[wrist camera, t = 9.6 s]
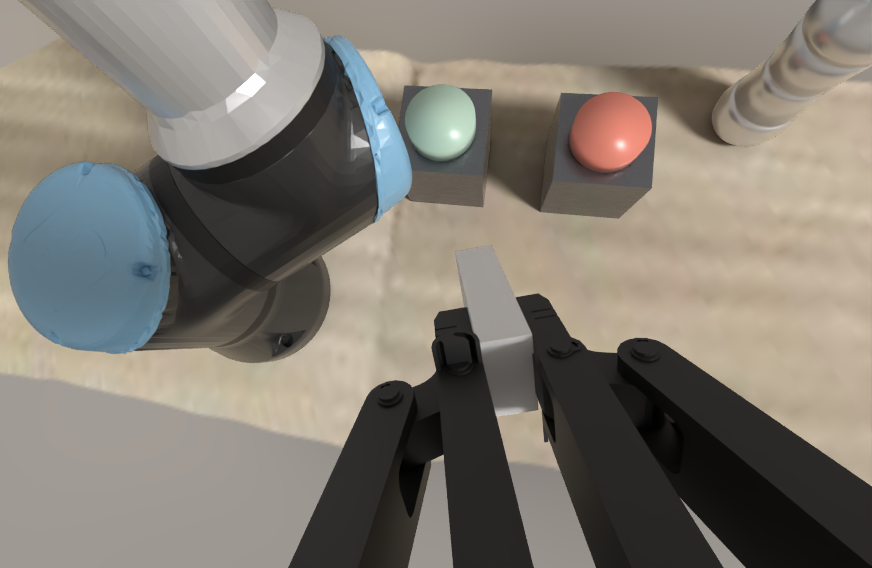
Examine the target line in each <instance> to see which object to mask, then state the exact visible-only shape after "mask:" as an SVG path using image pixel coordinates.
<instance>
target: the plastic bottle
mask: <svg viewBox="0 0 872 568" xmlns="http://www.w3.org/2000/svg"><path fill="white" fill-rule="evenodd" d="M871 66H872V0H816V1H815V2H814V3H813V4H812V5H811V7H810V8H809V9H808V11H807V12H806V13H805V14H804V16H803V17H802V19H801V20H800V21H799V22H798V24H797V25H796V26H795V28H794V29H793V30H792V32H791V33H790V34H789V36H788V37H787V38H786V39H785V40H784V41H783V42H782V44H781V45H780V46H779V47H778V48H777V49H776V50H775V51H774V52H773V53H772V55H771V56H770V57H769V58H768V59H766V60H765V61H764V62H763V63H761V64H760V65H759V66H758V67H757V68H755V69H754V70H753V71H752V72H751V73H749V74H748V75H746V76H745V77H743V78H741V79H740V80H739V81H737V82H736V83H735V84H733V85H732V86H731V87H729V88H728V89H727V90H726V91H725V92H724V93H723V94H722V95H721V97H720V98H719V100H718V102H717V103H716V105H715V107H714V109H713V112H712V125H713V128H714V130H715V132H716V134H717V135H718V136H719V137H720V138H721V139H722V140H724V141H725V142H727V143H729V144H732V145H736V146H744V147H748V146H755V145H758V144H761V143H763V142H766V141H768V140H770V139H772V138H774V137H776V136H777V135H779V134H780V133H782V132H783V131H784V130H785V129H786V128H787V127H788V126H789V125H790V124H791V123H792V122H793V121H794V119H795V118H796V117H797V116H798V115H799V114H800V113H801V112H802V111H804V110H805V109H806V108H807V107H808V106H809V105H811V104H812V103H813V102H814V101H815V100H816V99H818V98H819V97H820V96H822V95H824V94H825V93H826V92H828V91H830V90H831V89H833V88H834V87H836V86H837V85H839V84H841V83H842V82H844V81H845V80H847V79H849V78H851V77H852V76H854V75H856V74H858V73H860V72H862V71H864V70H866V69H867V68H869V67H871Z"/></svg>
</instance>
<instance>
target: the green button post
mask: <svg viewBox="0 0 872 568" xmlns="http://www.w3.org/2000/svg"><path fill="white" fill-rule="evenodd" d="M425 88H427V87H423V86H404V93H403V101H402V108H401V115H400V122H399V131H400V133H401V136H402V139H403V141H404V144H405V147H406V150H407V153H408V156H409V159H410V164H411V169H412V184H411V188H410V190H409V192H408V194H407V195H408V197H409V199H410V201H416V202H428V203H440V204H452V205H464V206H476V207H483V205H484V196H485V188H486V179H487V170H488V162H489V153H490V144H491V127H492V90H488V89H466V88H459V89H461V90H462V91H464V92H465V93H466V94H467V95H468V96H469V98H470V99H471V101H472V103H473V105H474V108H475V116H476V133H475V137H474V140H473V142H472V144H471V145H470V147H469V148H468V149H467V150H466V151H465V152H464V155H460V156H458V157H457V158H454V159H452V160H448V161H433V160H430V159H427V158H425V157H423V156H422V155H421V154H419V153H418V152H417V151H416V150H415V148H414V147H413V145H412V143H411V140H410V138H409V135H408V133H407V130H406V126H405V114H406V110H407V107H408V105H409V103H410V102H411V100H412V99H413V98H414V97H415V95H417V94H418V93H419V92H420V91H422V90H423V89H425Z"/></svg>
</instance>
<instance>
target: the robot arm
mask: <svg viewBox="0 0 872 568" xmlns="http://www.w3.org/2000/svg"><path fill="white" fill-rule="evenodd" d="M18 1H19V2H21V3H22V4H23V5H24V6H25V7H27V8H28V9H29V10H30V11H31V12H32V13H34V14H35V15H36V16H37V17H39V18H40V19H41V20H42V21H43V22H44V23H46V24H47V25H48V26H49V27H50V28H51V29H53V30H54V31H55V32H56V33H57V34H58V35H60V36H61V37H62V38H63V39H64V40H65V41H67V42H68V43H69V44H70V45H71V46H72V47H74V48H75V49H76V50H77V51H78V52H80V53H81V54H82V55H83V56H84V57H85V58H87V59H88V60H89V61H90V62H91V63H92V64H94V65H95V66H96V67H97V68H98V69H100V70H101V71H102V72H103V73H104V74H105V75H107V76H108V77H109V78H110V79H111V80H113V81H114V82H115V83H116V84H117V85H118V86H120V87H121V88H122V89H123V90H124V91H125V92H127V93H128V94H129V95H130V96H131V97H133V98H134V99H135V100H136V101H137V102H138V103H140V104H141V105H142V106H143V107H144V108H146V111H147V124H148V134H149V140H150V143H151V145H152V147H153V149H154V150H155V151H156V153H157V154H158V156H156V157H155V158H153V159H152V160H150V161H149V162H147V163H146V164H144V165H143V166H141V167H140V168H138V169H137V170H135V171H133V172H130V171H129V170H127V169H125V168H123V167H121V166H118V165H116V164H111V163H104V164H102V163H100V164H95V163H91V162H79V163H73V164H70V165H67V166H64V167H62V168H60V169H57V170H56V171H54V172H52V173H51V174H50V175H48V176H47V177H45V178H44V179H43V180H42V181H41V182H40V183H39V184H38V185H37V186H36V187H35V188H34V189H33V190H32V191H31V193H30V194H29V195H28V197H27V198H26V200H25V202H24V203H23V205H22V207H21V209H20V211H19V213H18V215H17V218H16V221H15V223H14V226H13V229H12V239H11V244H10V247H9V251H8V271H9V278H10V284H11V288H12V291H13V294H14V297H15V300H16V302H17V304H18V306H19V308H20V310H21V312H22V313H23V315H24V317H25V318H26V319H27V321H28V322H29V323H30V324H31V325H32V326H33V328H34V329H35V330H37V331H38V332H39V333H40V334H41V335H43V336H44V337H45V338H47V339H48V340H50V341H52V342H54V343H56V344H60V345H62V346H64V347H68V348H71V349H76V350H84V351H98V352H106V353H110V354H121V353H122V354H125V353H126V352H132V351H145V350H168V349H191V348H209V349H211V350H213V351H215V352H217V353H219V354H221V355H223V356H225V357H227V358H229V359H232V360H236V361H240V362H246V363H261V362H270V361H276V360H279V359H283V358H285V357H288V356H290V355H292V354H294V353H295V352H297V351H299V350H300V349H301V348H303V347H304V346H305V345H306V344H307V343H308V342H309V341H310V340H311V339H312V338H313V337H314V336H315V334H316V333H317V331H318V330H319V328H320V327H321V325H322V323H323V321H324V319H325V316H326V313H327V310H328V307H329V301H330V279H329V274H328V270H327V268H326V265H325V263H324V260H323V259H322V257H321V256H322V255H323V254H325V253H327V252H328V251H330V250H331V249H333V248H334V247H336V246H338V245H339V244H341V243H342V242H344V241H345V240H347V239H348V238H350V237H352V236H353V235H355V234H356V233H358V232H359V231H361V230H363V229H364V228H366V227H367V226H369V225H370V224H373V223H375V222H377V221H378V220H379V219H380V218H381V216H382V215H383V214H384V213H385V212H387V211H388V210H389V209H390V208H392V207H393V206H394V205H396V204H397V203H398V202H400V201H401V200H402V199H403V198H404V197H405V196H406V195H407V194H408V192H409V190H410V188H411V184H412V169H411V164H410V159H409V156H408V153H407V150H406V147H405V144H404V141H403V139H402V136H401V133H400V131H399V128H398V126H397V124H396V121H395V119H394V117H393V115H392V113H391V111H390V110H389V108H388V107H387V106H386V105H385V101H384V98H383V96H382V93H381V91H380V89H379V86H378V84H377V82H376V80H375V78H374V77H373V75H372V73H371V71H370V69H369V68H368V66H367V65H366V63H365V61H364V60H363V58H362V57H361V55H360V54H359V52H358V51H357V50H356V48H355V47H354V46H353V45H352V44H351V43H350V41H349V40H348V39H346V38H344V37H342V36H339V35H338V36H334V37H327V38H326V39H325V38H323V37H322V36H321V34H320V32H319V31H318V29H317V27H316V26H315V25H314V24H313V22H312V21H310V20H309V19H307V18H306V17H305V16H302V15H300V14H297V13H294V12H290V11H285V10H282V9H278V8H274V7H271V6H270V4H269V2H268V1H267V0H18ZM455 254H456V260H457V266H458V272H459V278H460V285H461V291H462V297H463V303H464V308H458V309H453V310H447V311H441V312H439V313H438V315H437V316H436V318H435V320H434V325H435V336H436V339H435V340H434V341H433V343H432V347H431V348H432V352H433V357H434V362H435V366H436V372H435V374H434V375H433V376H432V377H431V378H430V379H428V380H427V381H426V382H424V383H422V384H420V385H417V386H415V387H413V388H412V387H411V385H410V384H408V383H406V382H404V381H397V380H395V381H388V382H385V383H383V384H380V385H378V386H377V387H375V388H374V389H373V390H371V392H370V393H369V394H368V396H367V397H366V400H365V402H364V404H363V406H362V408H361V410H360V413H359V415H358V417H357V419H356V421H355V424H354V426H353V428H352V430H351V432H350V434H349V437H348V439H347V441H346V443H345V445H344V448H343V450H342V452H341V454H340V456H339V458H338V461H337V463H336V465H335V467H334V469H333V472H332V474H331V476H330V478H329V480H328V482H327V485H326V487H325V489H324V491H323V493H322V495H321V498H320V500H319V502H318V504H317V506H316V509H315V511H314V513H313V515H312V517H311V519H310V522H309V524H308V526H307V528H306V530H305V532H304V535H303V537H302V539H301V541H300V543H299V546H298V548H297V550H296V552H295V554H294V556H293V559H292V561H291V563H290V565H289V567H288V568H408V564H409V560H410V555H411V551H412V547H413V542H414V537H415V533H416V529H417V525H418V520H419V516H420V511H421V507H422V502H423V498H424V494H425V490H426V485H427V480H428V477H429V472H430V468H431V460H433V459H435V458H437V457H439V456H441V455H443V454H444V464H445V476H446V486H447V499H448V511H449V522H450V534H451V545H452V557H453V568H534V567H533V563H532V559H531V555H530V551H529V547H528V543H527V539H526V535H525V531H524V527H523V523H522V519H521V515H520V511H519V507H518V503H517V499H516V494H515V490H514V487H513V483H512V478H511V474H510V470H509V466H508V462H507V458H506V454H505V450H504V446H503V442H502V438H501V434H500V430H499V426H498V422H497V418H496V417H498V416H504V415H510V414H516V413H522V412H528V411H535V410H538V401H539V403H540V406H541V408H542V419H543V432H544V442H548V438H549V441H550V444H551V446H552V449H553V452H554V455H555V457H556V460H557V463H558V465H559V468H560V471H561V474H562V476H563V479H564V481H565V484H566V487H567V490H568V492H569V495H570V498H571V501H572V503H573V506H574V509H575V512H576V514H577V517H578V520H579V523H580V525H581V528H582V530H583V533H584V536H585V539H586V541H587V544H588V547H589V550H590V552H591V555H592V558H593V560H594V563H595V566H596V568H723V566H722V565H721V563H720V562H719V560H718V558H717V557H716V555H715V553H714V552H713V550H712V549H711V547H710V546H709V544H708V542H707V541H706V539H705V538H704V536H703V534H702V533H701V531H700V529H699V528H698V526H697V525H696V523H695V521H694V520H693V518H692V517H691V515H690V513H689V512H688V510H687V509H686V507H685V505H684V504H683V502H682V501H681V499H682V500H683V501H684V502H685V503H686V504H687V506H688V507H689V508H690V509H691V510H692V511H693V512H694V513H695V514H696V515H697V516H698V517H699V518H700V519H701V520H702V521H703V523H704V524H705V525H706V526H707V527H708V528H709V529H710V530H711V531H712V532H713V533H714V534H715V535H716V536H717V537H718V538H719V540H721V542H722V543H723V544H724V545H725V546H726V547H727V548H728V549H729V550H730V551H731V552H732V553H733V554H734V556H735V557H736V558H737V559H738V560H739V561H740V562H741V563H742V564H743V565H744V566H745V567H746V568H872V486H870V485H869V484H867V483H866V482H865V481H863V480H862V479H860V478H859V477H857V476H856V475H854V474H853V473H851V472H850V471H849V470H847V469H846V468H844V467H843V466H841V465H840V464H838V463H837V462H836V461H834V460H833V459H831V458H830V457H828V456H827V455H825V454H824V453H822V452H821V451H820V450H818V449H817V448H815V447H814V446H812V445H811V444H809V443H808V442H806V441H805V440H804V439H802V438H801V437H799V436H798V435H796V434H795V433H793V432H792V431H790V430H789V429H788V428H786V427H785V426H783V425H782V424H780V423H779V422H777V421H776V420H774V419H773V418H772V417H770V416H769V415H767V414H766V413H764V412H763V411H761V410H760V409H758V408H757V407H756V406H754V405H753V404H751V403H750V402H748V401H747V400H745V399H744V398H742V397H741V396H740V395H738V394H737V393H735V392H734V391H732V390H731V389H729V388H728V387H726V386H725V385H724V384H722V383H721V382H719V381H718V380H716V379H715V378H713V377H712V376H710V375H709V374H708V373H706V372H705V371H703V370H702V369H700V368H699V367H697V366H696V365H694V364H693V363H692V362H690V361H689V360H687V359H686V358H684V357H683V356H681V355H680V354H678V353H677V352H676V351H674V350H673V349H671V348H670V347H668V346H667V345H665V344H663V343H661V342H659V341H657V340H652V339H648V338H634V339H629V340H626V341H624V342H623V343H621V344H620V346H619V347H618V349H617V353H604V352H594V351H590V350H587V349H586V347H585V346H584V345H583V344H582V343H581V342H580V341H579V340H577V339H574V338H572V337H570V335H569V333H568V332H567V330H566V328H565V327H564V325H563V323H562V322H561V320H560V318H559V317H558V316H557V313H556V312H555V310H554V309H553V307H552V305H551V303H550V302H549V300H548V299H546V298H545V297H543V296H541V295H540V294H533V295H527V296H521V297H515V296H514V293H513V291H512V289H511V287H510V285H509V282H508V280H507V278H506V276H505V274H504V271H503V269H502V267H501V265H500V263H499V261H498V258H497V256H496V254H495V252H494V250H493V247H492V245H488V246H483V247H477V248H471V249H466V250H460V251H455ZM537 398H538V399H537ZM680 498H681V499H680Z"/></svg>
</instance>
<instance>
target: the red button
mask: <svg viewBox="0 0 872 568" xmlns="http://www.w3.org/2000/svg"><path fill="white" fill-rule="evenodd" d="M651 132H652V123H651V118H650V115H649V113H648V111H647V109H646V108H645V107H644V105H643V104H642V103H641V102H639V101H638V100H637V99H635V98H634V97H632V96H630V95H627V94H624V93H618V92H608V93H603V94H599V95H597V96H595V97H593V98H591V99H589V100H588V101H587V102H586V103H584V104H583V106H582V107H581V108H580V109H579V111H578V113H577V115H576V117H575V120H574V122H573V125H572V127H571V130H570V134H569V145H570V149H571V151H572V154H573V155H574V157H575V158H576V162H579V163H580V164H581V165H583V166H584V167H586V168H588V169H590V170H592V171H596V172H601V173H610V172H616V171H619V170H622V169H624V168H625V167H627V166H628V165H630V164H631V163H632V162H633V161H634V160H635V159H636V158H637V156H638V155H639V154H640V153H641V152H642V150H643V149H644V148H645V147H646V145H647V144H648V142H649V139H650V136H651Z"/></svg>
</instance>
